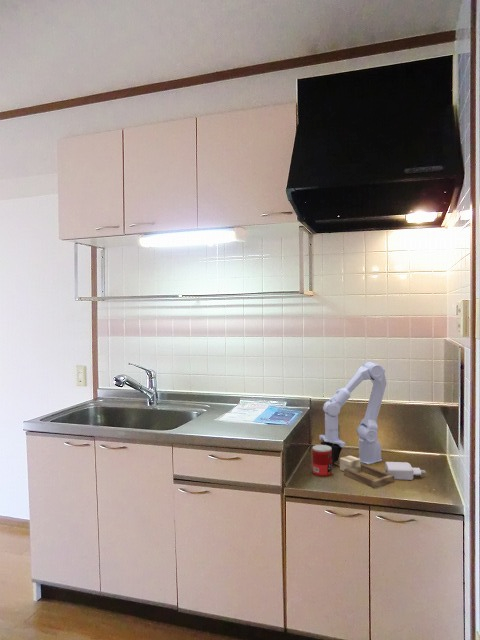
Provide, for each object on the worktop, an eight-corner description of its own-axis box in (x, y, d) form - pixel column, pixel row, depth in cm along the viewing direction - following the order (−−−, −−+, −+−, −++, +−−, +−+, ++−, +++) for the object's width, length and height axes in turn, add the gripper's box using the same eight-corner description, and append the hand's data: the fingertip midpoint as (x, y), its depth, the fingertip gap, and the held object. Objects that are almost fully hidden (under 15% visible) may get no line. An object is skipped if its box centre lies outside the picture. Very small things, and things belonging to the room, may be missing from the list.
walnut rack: (362, 469, 199) (362, 463, 199) (394, 481, 185) (394, 475, 185) (344, 475, 193) (344, 469, 193) (374, 488, 179) (374, 481, 179)
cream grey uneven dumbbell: (335, 460, 210) (335, 448, 209) (360, 471, 197) (360, 457, 196) (325, 463, 207) (325, 451, 206) (350, 474, 194) (349, 460, 193)
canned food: (332, 477, 191) (331, 450, 191) (312, 476, 193) (311, 450, 192) (332, 470, 199) (331, 445, 198) (313, 469, 200) (312, 444, 200)
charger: (428, 481, 185) (388, 480, 187) (422, 473, 194) (385, 471, 196) (427, 469, 184) (388, 468, 187) (422, 461, 193) (385, 460, 196)
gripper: (313, 426, 211) (314, 456, 211) (336, 434, 198) (336, 465, 199) (325, 424, 214) (326, 453, 215) (348, 431, 202) (349, 462, 202)
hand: (332, 459), depth 207 cm, fingers open, 4 cm apart
